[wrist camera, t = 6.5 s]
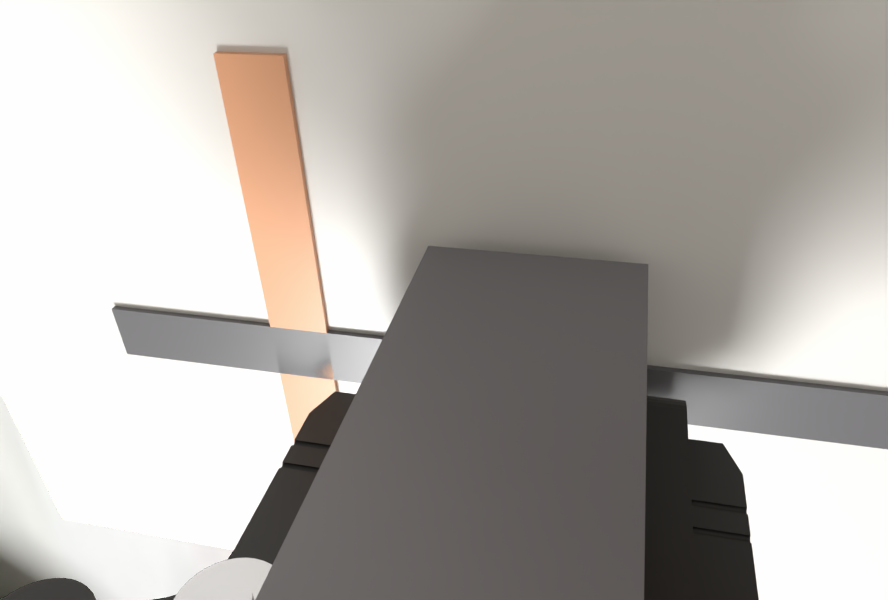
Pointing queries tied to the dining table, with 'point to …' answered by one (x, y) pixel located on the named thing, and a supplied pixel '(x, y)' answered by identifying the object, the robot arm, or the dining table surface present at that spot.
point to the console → (441, 233)
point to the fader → (488, 442)
